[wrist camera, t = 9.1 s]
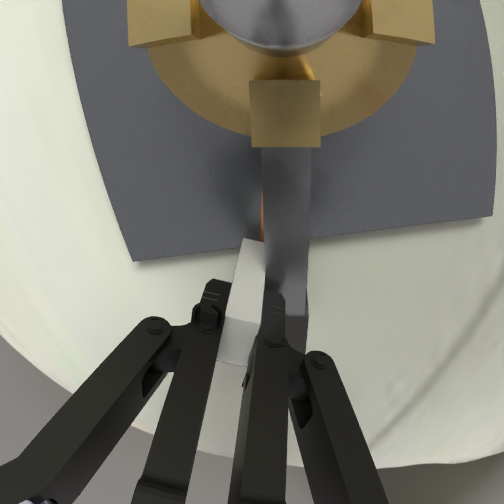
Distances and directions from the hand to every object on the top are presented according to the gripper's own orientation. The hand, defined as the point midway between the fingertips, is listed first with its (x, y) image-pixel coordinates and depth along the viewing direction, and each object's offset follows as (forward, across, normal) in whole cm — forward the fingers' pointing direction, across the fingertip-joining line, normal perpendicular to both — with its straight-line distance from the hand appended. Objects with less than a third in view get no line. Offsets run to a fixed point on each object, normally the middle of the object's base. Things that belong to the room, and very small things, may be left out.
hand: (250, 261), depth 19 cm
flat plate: (+2, -1, +13) cm, 13 cm away
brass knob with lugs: (+1, 0, +7) cm, 7 cm away
